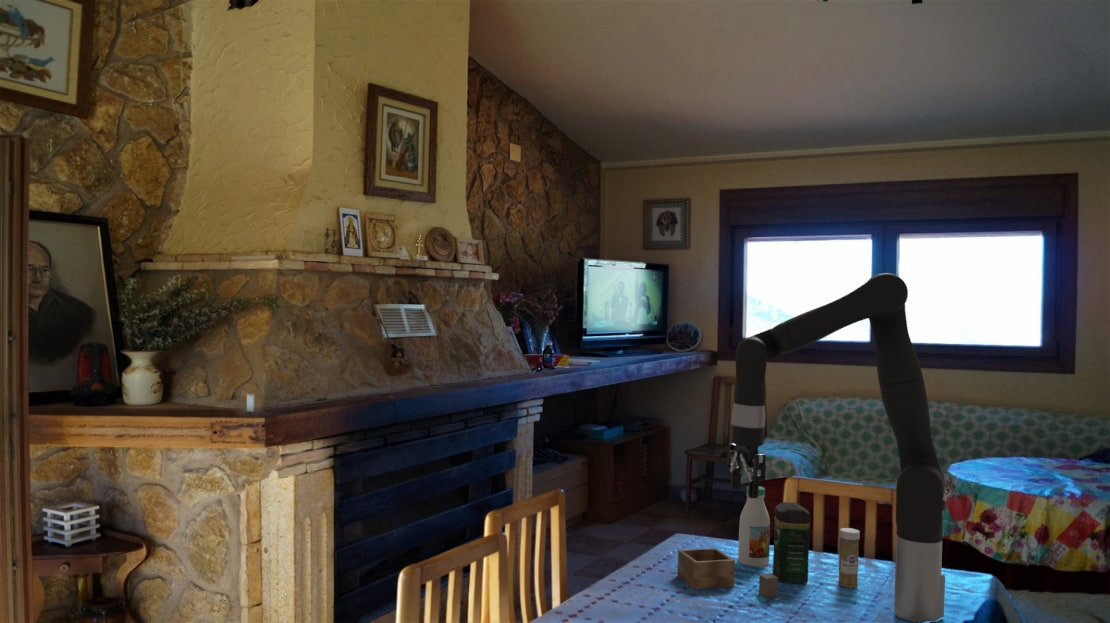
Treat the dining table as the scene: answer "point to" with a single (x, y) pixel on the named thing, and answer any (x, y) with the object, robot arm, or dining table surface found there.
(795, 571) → the coffee jar
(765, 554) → the milk bottle
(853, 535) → the sprinkles bottle
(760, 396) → the robot arm
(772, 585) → the lid
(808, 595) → the dining table surface
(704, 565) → the box
